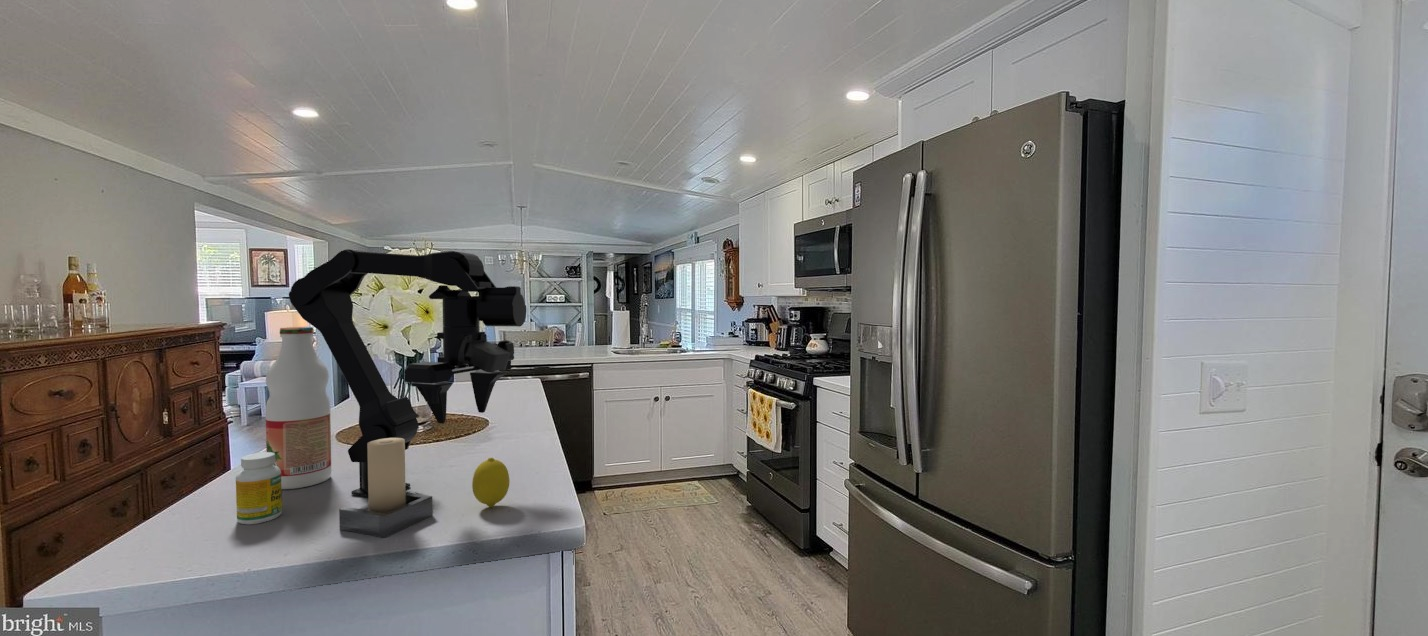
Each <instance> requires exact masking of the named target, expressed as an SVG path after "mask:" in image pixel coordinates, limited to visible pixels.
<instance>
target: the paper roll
mask: <svg viewBox="0 0 1428 636" xmlns="http://www.w3.org/2000/svg"><path fill="white" fill-rule="evenodd" d="M367 449H368V500H367V501H368V510H370V511H376V512H382V513H386V512H389V511H391V510H394V509H396V508H398V507H401V506H403V505H406V490H407V488H405V483H406V450H405V439H403V438H384V439H378V440H374V441H371V442H369V443H368V444H367Z"/></svg>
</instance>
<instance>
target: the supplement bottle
mask: <svg viewBox="0 0 1428 636" xmlns="http://www.w3.org/2000/svg"><path fill="white" fill-rule="evenodd" d="M274 463H275V453H272V452H267V451H266V452H265V451H264V452H263V451H262V452H255V453H251V454H246V455H244V456H242V457H241V459H240V467H241V468H242V470H240V471H239V472H237V474H236V476H235V493H236V494H235V498H236V501H235V502H236V522H238V523H239V524H241V525H256V524H261V523H266V521H267V522H270V521H272V520H274V519H276V518H278V517H279V516H280V515H282V512H283V505H282V504H283V501H282V499H283V497H282V494H283V493H282V489H281V470H280V468H279V467H277V466H274V465H273V464H274Z"/></svg>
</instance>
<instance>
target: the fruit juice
mask: <svg viewBox="0 0 1428 636" xmlns="http://www.w3.org/2000/svg"><path fill="white" fill-rule="evenodd" d="M314 329H315V328H314V326H286V327H285V326H284V327H280V328H279V335H280V336H279V337H280V338H281V346H280V350H279V352H278V355H277V358H276V359H275V360H274V362H273V364H272V365H271V366H270V367H269V368H268V370H267V371H266V374H265V383H266V384H265V385H266V387H267V390H268V392H269V393H268V394H269V397H268V399H267V402H266V404H265V414H264V415H265V416H264V417H265V437H266V438H265V439H266V442H265V443H266V444H265V445H266V446H265V447H266V452H272V453H275V463H274V464H273V465H274V466H277V467H279V468H280V470H281V490H293V489H295V490H296V489H301V488H306V487H311V486H315V485H318V484H321V483H324V482H325V481H328V480H329V479H330V478H331V475H332V437H331V436H332V434H331V433H332V431H331V429H332V428H331V424H332V423H331V402H330V397H329V396H328V394H327V385H328V382H329V370H328V368H327V366H326V365H325V364H324V362H323V361H322V360H321V359H320V358H319V356H318V355H317V352H316V350H315V347H314V344H313V337H314V333H315V332H314Z"/></svg>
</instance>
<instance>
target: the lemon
mask: <svg viewBox="0 0 1428 636" xmlns="http://www.w3.org/2000/svg"><path fill="white" fill-rule="evenodd" d="M471 488H472V492H473V495H474V497H475V498H476V500H477V501H478V502H479V503H481V504H484V505H486V506H487V507H488V508H494V507H495V506H496V505H497V504H498V503H499V502H501V501H502V500H503V499H504V498H505V497H506V496H507V493H508V492H509V488H510V474H509V470H508V468H507V466H506V465H505V464H504V463H503V462H502V461H500V460H498V459H495V458H494V457H488V458H487V459H485V460H484V461H482V462H481V463H479V465H478V466H477V467H476V468H475V470H474V473H473V477H472V483H471Z"/></svg>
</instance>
